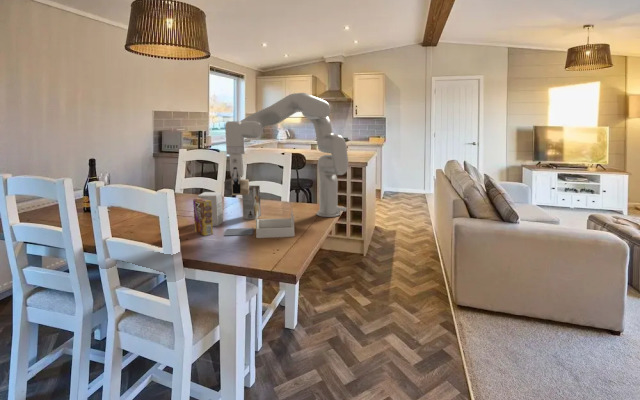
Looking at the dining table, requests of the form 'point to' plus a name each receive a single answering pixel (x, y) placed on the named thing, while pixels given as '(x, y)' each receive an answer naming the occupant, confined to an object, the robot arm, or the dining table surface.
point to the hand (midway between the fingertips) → (237, 191)
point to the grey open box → (266, 229)
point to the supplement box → (214, 206)
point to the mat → (239, 232)
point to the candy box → (203, 216)
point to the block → (243, 187)
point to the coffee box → (251, 203)
